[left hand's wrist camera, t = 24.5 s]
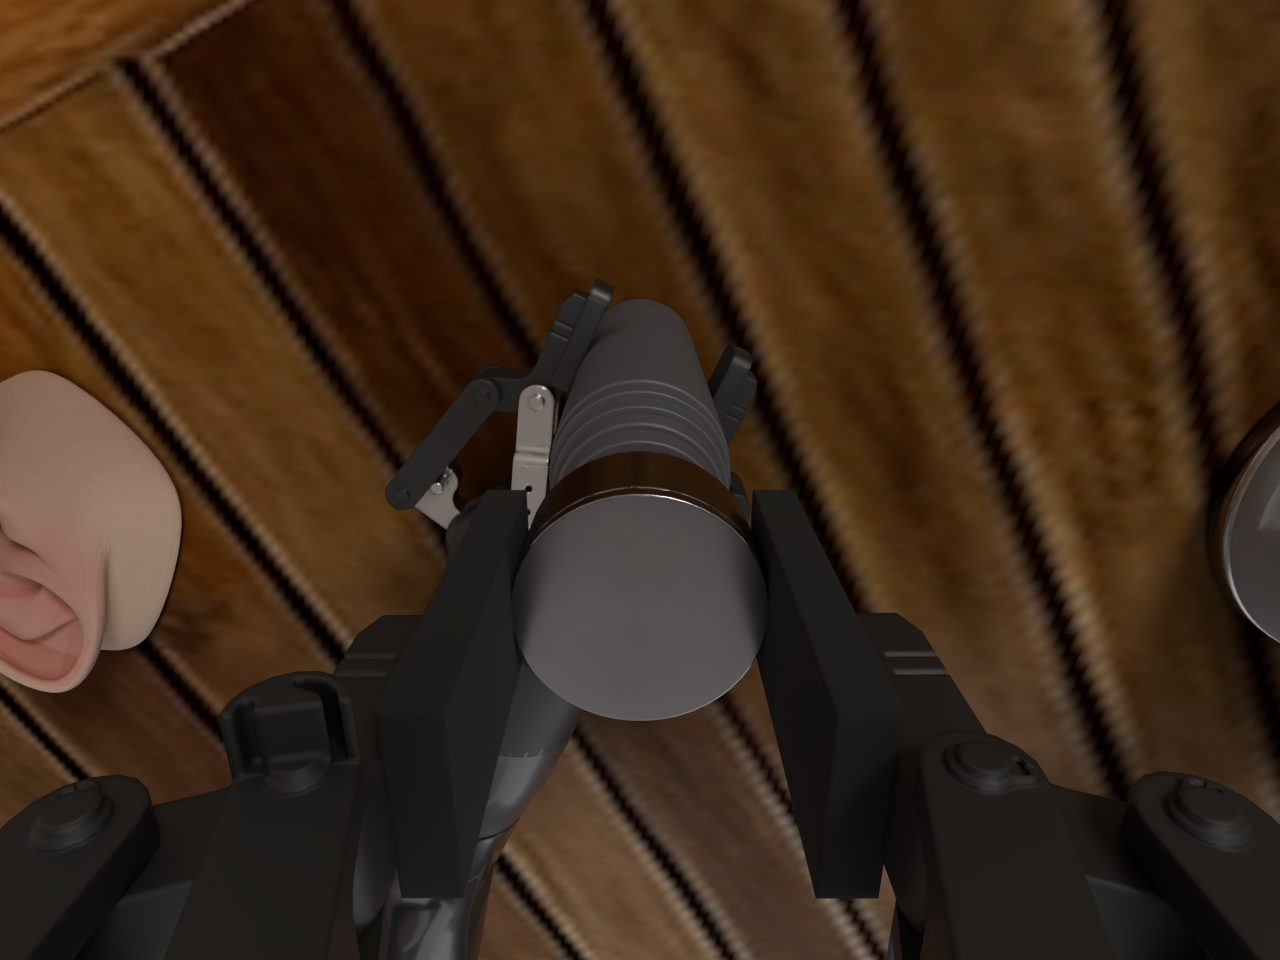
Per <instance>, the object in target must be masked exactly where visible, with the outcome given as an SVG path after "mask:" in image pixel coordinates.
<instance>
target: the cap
mask: <svg viewBox="0 0 1280 960" xmlns="http://www.w3.org/2000/svg"><path fill="white" fill-rule="evenodd" d="M768 596H769V591H768V586H767V581H766V577H765V574H764V571H763V568H762V565H761V562H760V559H759V556H758V553H757V549H756V546H755V543H754V540H753V537H752V534H751V531H750V528H749V525H748V522H747V520H746V517H745V514H744V512H743V511H742V509H741V507H740V505H739V503H738V502H737V500H736V499H735V498H734V496H733V495H732V494H731V492H730V491H729V490H728V489H727V488H726V487H725V486H724V485H723V484H722V483H721V482H720V481H719V480H718V479H717V478H716V477H714V476H713V475H712V474H710V473H709V472H708V471H706V470H704V469H703V468H701V467H699V466H697V465H696V464H694V463H691V462H689V461H687V460H684V459H682V458H679V457H675V456H673V455H669V454H664V453H657V452H650V451H630V452H622V453H616V454H612V455H608V456H603V457H601V458H598V459H595V460H593V461H590V462H588V463H586V464H584V465H582V466H580V467H578V468H577V469H575V470H574V471H572V472H571V473H569V474H568V475H566V476H565V477H564V478H563V479H562V480H560V481H559V482H558V483H557V484H556V485H555V486H554V487H553V488H552V489H551V491H550V492H549V493H548V494H547V495H546V497H545V498H544V499H543V501H542V503H541V504H540V506H539V508H538V509H537V511H536V514H535V516H534V518H533V521H532V523H531V526H530V529H529V532H528V535H527V538H526V542H525V545H524V548H523V551H522V554H521V557H520V560H519V563H518V567H517V569H516V572H515V576H514V579H513V583H512V587H511V604H512V619H513V632H514V638H515V640H516V643H517V646H518V648H519V650H520V652H521V654H522V656H523V658H524V660H525V662H526V663H527V664H528V666H529V667H530V669H531V670H532V671H533V673H534V674H535V675H536V676H537V677H538V678H539V679H540V680H541V682H542V683H543V684H544V685H545V686H547V687H548V688H549V689H550V690H551V691H553V692H554V693H555V694H556V695H558V696H559V697H561V698H562V699H564V700H566V701H567V702H569V703H571V704H573V705H575V706H577V707H579V708H581V709H583V710H585V711H588V712H591V713H594V714H597V715H600V716H604V717H609V718H613V719H620V720H628V721H650V720H660V719H666V718H671V717H676V716H679V715H682V714H685V713H689V712H692V711H694V710H696V709H698V708H701V707H703V706H705V705H707V704H709V703H710V702H712V701H714V700H715V699H717V698H719V697H720V696H722V695H723V694H724V693H725V692H727V691H728V690H729V689H731V688H732V687H733V686H734V685H735V684H736V683H737V682H738V681H739V680H740V679H741V678H742V677H743V676H744V674H745V673H746V672H747V671H748V669H749V668H750V667H751V665H752V664H753V662H754V660H755V659H756V657H757V655H758V653H759V652H760V649H761V647H762V644H763V642H764V639H765V636H766V626H767V612H768Z"/></svg>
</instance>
